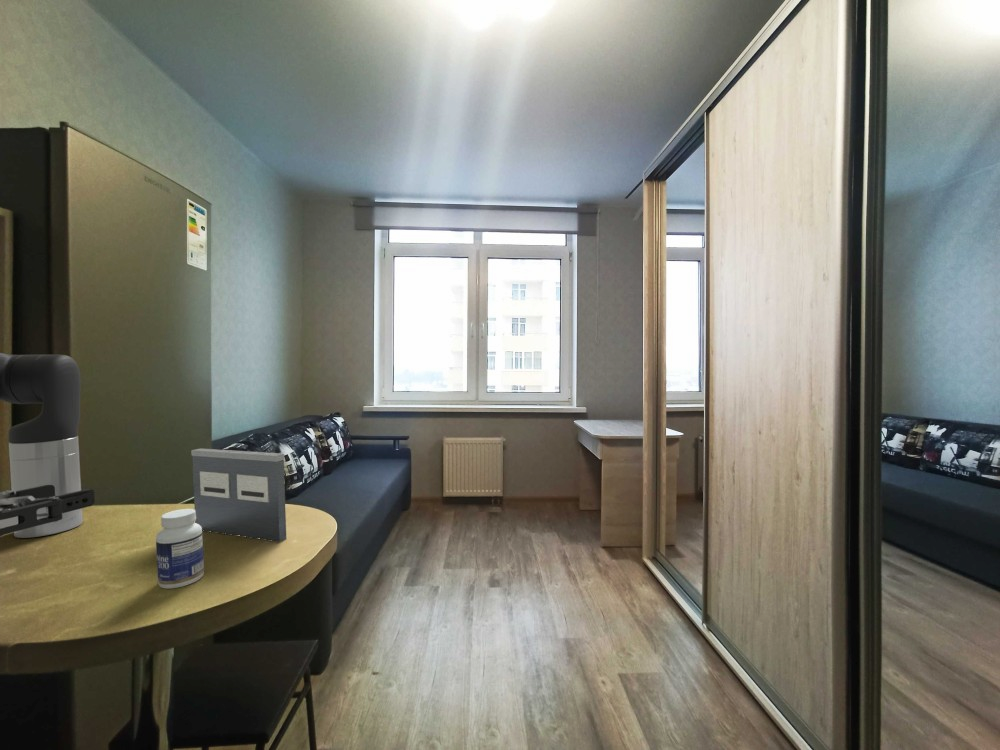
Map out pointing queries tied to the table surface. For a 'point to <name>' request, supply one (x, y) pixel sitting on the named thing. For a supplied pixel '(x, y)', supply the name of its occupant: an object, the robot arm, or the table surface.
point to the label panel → (240, 493)
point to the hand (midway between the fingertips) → (72, 494)
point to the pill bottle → (179, 549)
